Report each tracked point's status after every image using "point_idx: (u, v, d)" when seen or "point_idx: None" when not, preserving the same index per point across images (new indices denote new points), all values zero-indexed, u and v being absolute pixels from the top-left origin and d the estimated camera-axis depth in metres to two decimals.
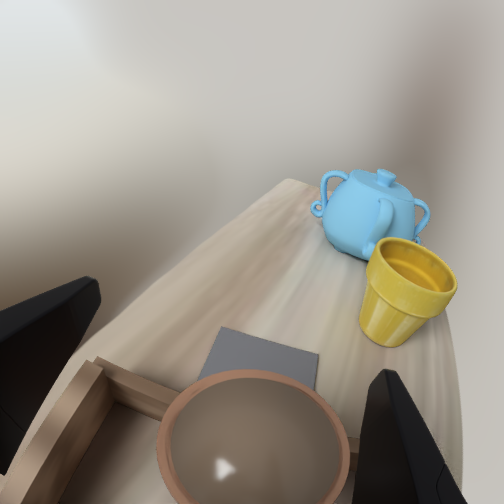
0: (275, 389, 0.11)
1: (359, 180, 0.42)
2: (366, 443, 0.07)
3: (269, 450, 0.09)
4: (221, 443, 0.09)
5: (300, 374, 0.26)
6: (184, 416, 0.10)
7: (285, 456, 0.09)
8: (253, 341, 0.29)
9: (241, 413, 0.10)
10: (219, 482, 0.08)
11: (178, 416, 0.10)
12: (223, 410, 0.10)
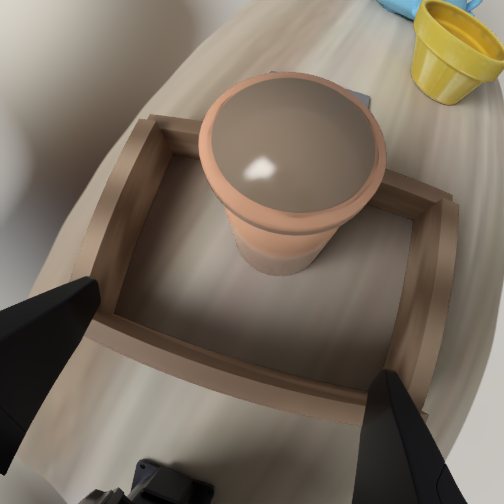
0: (311, 87, 0.11)
1: None
2: (366, 443, 0.07)
3: (305, 138, 0.11)
4: (259, 132, 0.11)
5: None
6: (224, 113, 0.11)
7: (321, 144, 0.11)
8: None
9: (278, 107, 0.11)
10: (257, 169, 0.10)
11: (218, 115, 0.11)
12: (261, 105, 0.11)
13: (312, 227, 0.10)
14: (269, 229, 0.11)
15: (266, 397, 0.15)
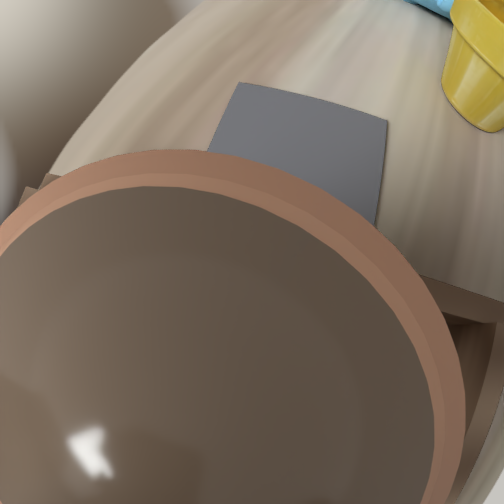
0: (214, 235, 0.03)
1: None
2: None
3: (169, 502, 0.02)
4: (38, 446, 0.02)
5: (361, 149, 0.17)
6: None
7: None
8: (287, 98, 0.17)
9: (83, 346, 0.03)
10: None
11: None
12: (32, 335, 0.03)
13: None
14: None
15: None
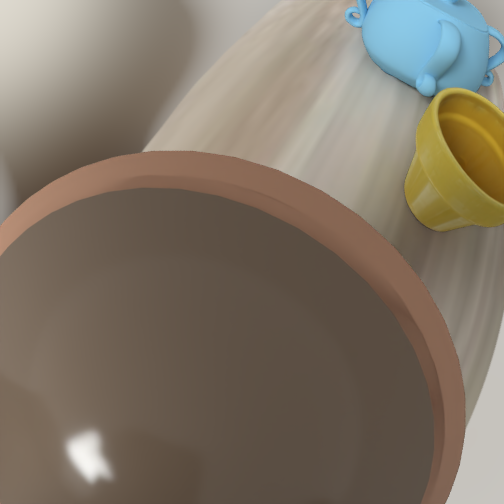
0: (212, 237, 0.03)
1: None
2: None
3: None
4: (36, 447, 0.02)
5: None
6: None
7: None
8: None
9: (80, 350, 0.03)
10: None
11: None
12: (31, 337, 0.03)
13: None
14: None
15: None
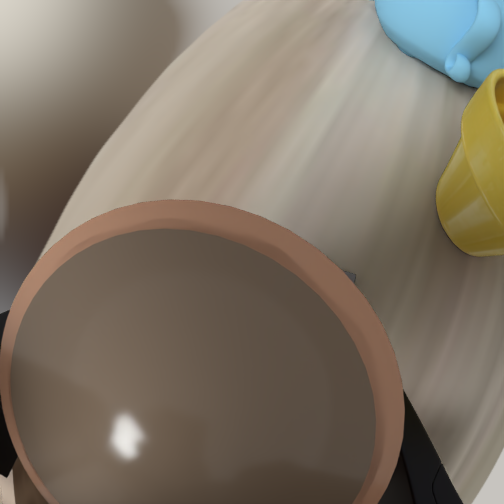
0: (214, 265, 0.04)
1: None
2: None
3: (181, 454, 0.04)
4: (81, 419, 0.04)
5: None
6: (22, 346, 0.04)
7: (221, 473, 0.03)
8: None
9: (122, 342, 0.04)
10: (92, 491, 0.03)
11: (16, 345, 0.04)
12: (81, 334, 0.04)
13: None
14: None
15: None
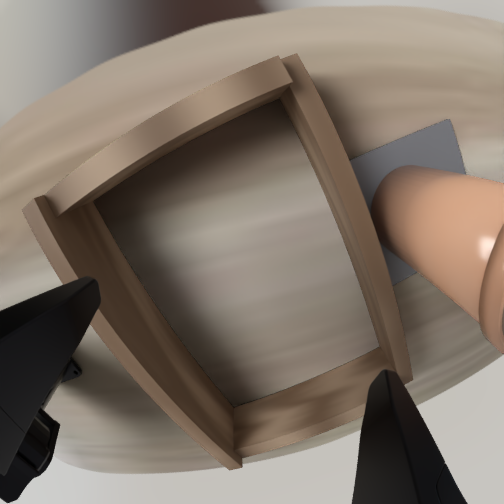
0: None
1: None
2: (366, 443, 0.07)
3: None
4: None
5: None
6: None
7: None
8: (457, 164, 0.19)
9: None
10: None
11: None
12: None
13: (495, 346, 0.09)
14: (482, 317, 0.09)
15: (160, 399, 0.17)
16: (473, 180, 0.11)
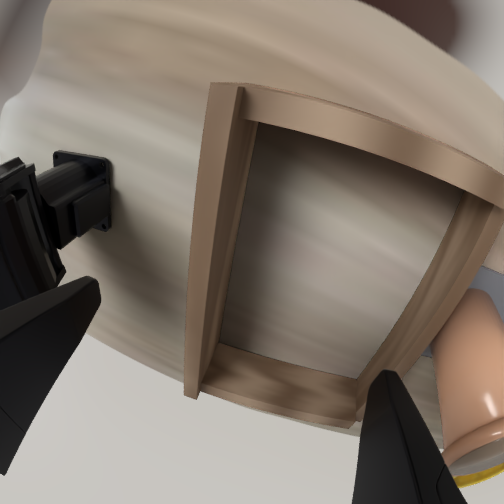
0: None
1: None
2: (366, 443, 0.07)
3: (488, 459, 0.10)
4: None
5: None
6: None
7: (481, 463, 0.11)
8: None
9: None
10: (486, 449, 0.10)
11: None
12: None
13: None
14: (453, 446, 0.11)
15: (192, 323, 0.19)
16: None
